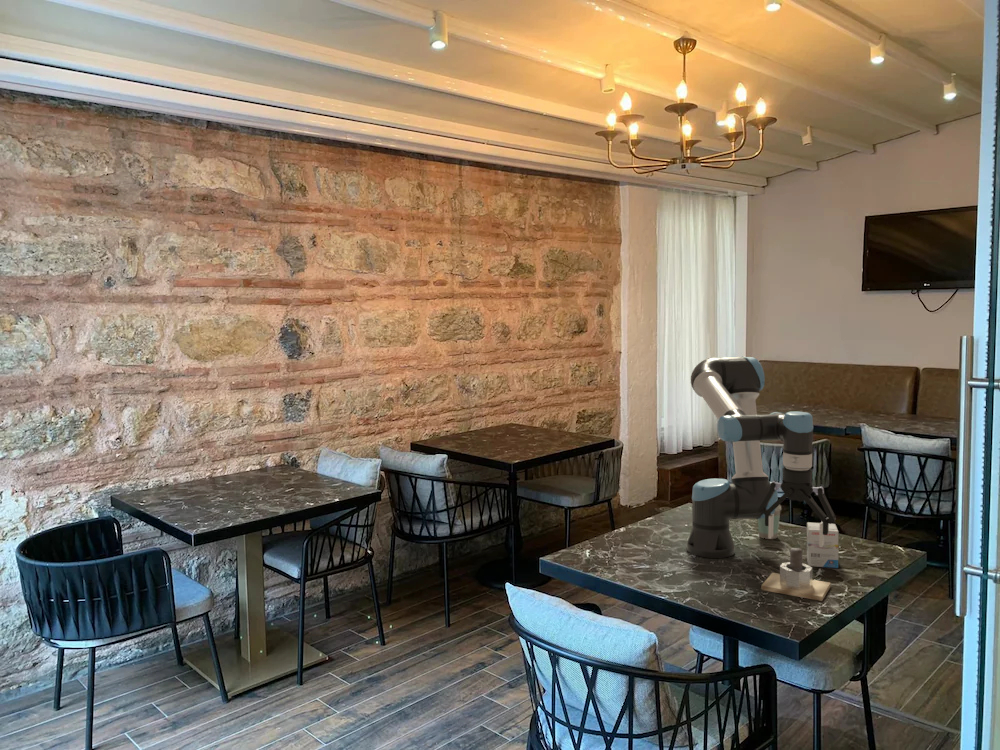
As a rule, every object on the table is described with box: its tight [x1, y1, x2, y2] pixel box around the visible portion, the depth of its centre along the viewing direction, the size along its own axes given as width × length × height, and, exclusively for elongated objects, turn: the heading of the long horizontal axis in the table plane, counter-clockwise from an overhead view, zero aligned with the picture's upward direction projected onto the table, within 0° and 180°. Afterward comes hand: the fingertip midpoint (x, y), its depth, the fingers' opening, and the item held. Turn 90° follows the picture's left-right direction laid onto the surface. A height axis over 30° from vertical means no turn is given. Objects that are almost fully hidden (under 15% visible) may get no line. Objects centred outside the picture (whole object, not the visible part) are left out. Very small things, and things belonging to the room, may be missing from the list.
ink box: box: [806, 521, 840, 569], centre depth 228 cm, size 9×8×12 cm
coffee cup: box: [756, 504, 782, 540], centre depth 255 cm, size 8×9×12 cm
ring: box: [779, 561, 813, 590], centre depth 208 cm, size 8×8×5 cm
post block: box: [760, 547, 832, 602], centre depth 208 cm, size 16×12×11 cm
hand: (795, 541), depth 208 cm, fingers open, 13 cm apart
